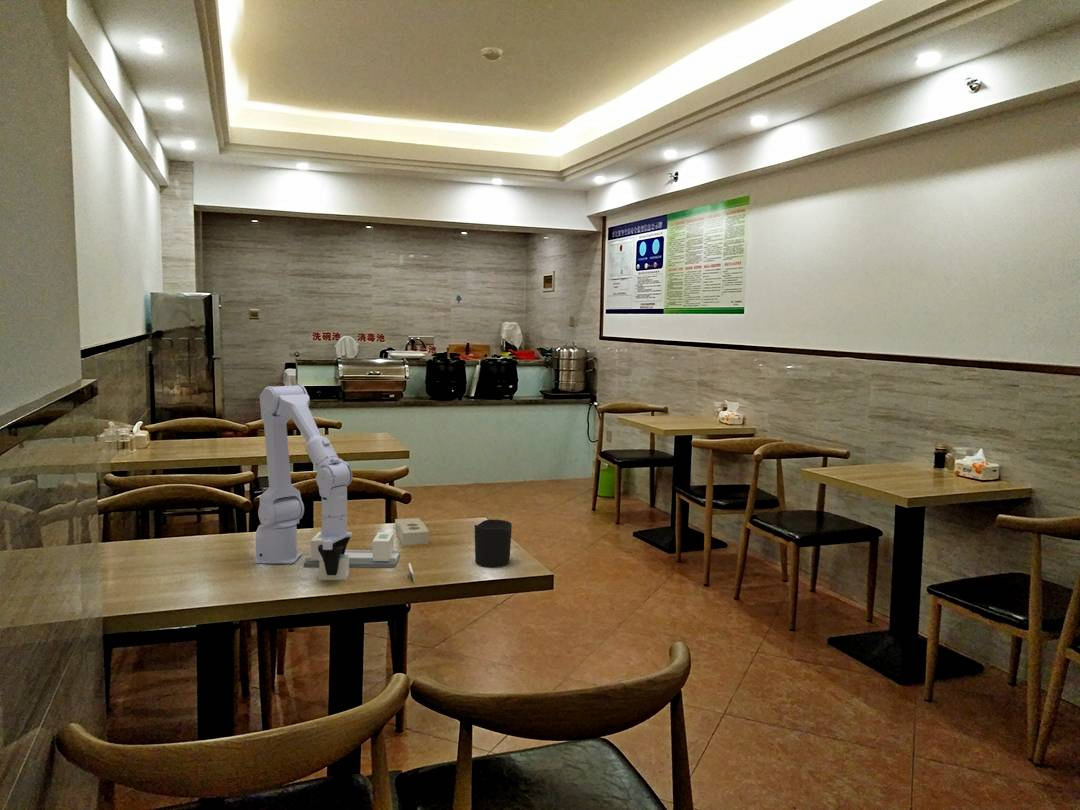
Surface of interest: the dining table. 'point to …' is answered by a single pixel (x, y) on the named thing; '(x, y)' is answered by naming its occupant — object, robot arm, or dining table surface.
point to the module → (342, 569)
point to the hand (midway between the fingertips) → (334, 571)
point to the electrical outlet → (412, 531)
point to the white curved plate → (411, 573)
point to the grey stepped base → (362, 553)
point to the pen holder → (493, 543)
